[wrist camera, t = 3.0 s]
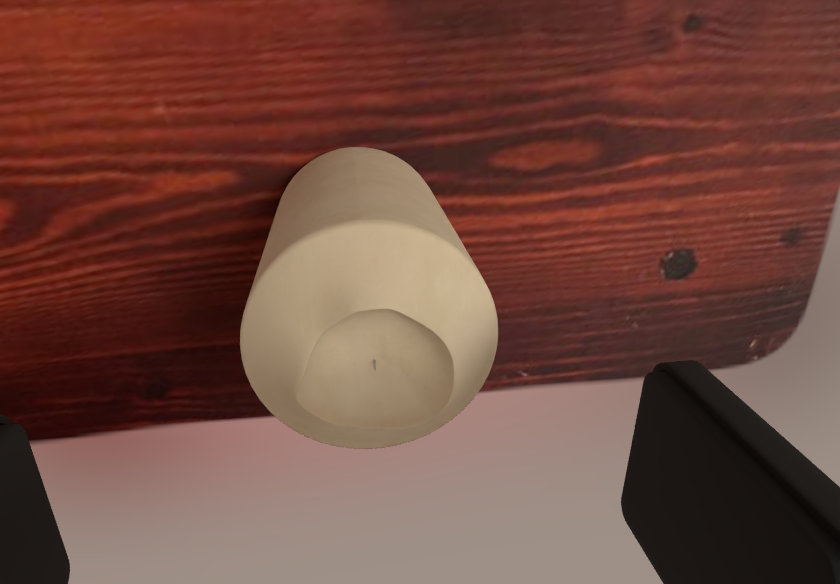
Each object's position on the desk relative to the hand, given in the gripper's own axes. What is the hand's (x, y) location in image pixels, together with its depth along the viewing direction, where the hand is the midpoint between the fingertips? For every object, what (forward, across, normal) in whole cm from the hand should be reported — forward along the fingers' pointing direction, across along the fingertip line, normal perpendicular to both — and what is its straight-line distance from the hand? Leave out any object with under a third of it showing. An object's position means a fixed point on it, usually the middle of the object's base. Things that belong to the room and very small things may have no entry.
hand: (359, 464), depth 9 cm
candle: (+12, -1, 0) cm, 12 cm away
